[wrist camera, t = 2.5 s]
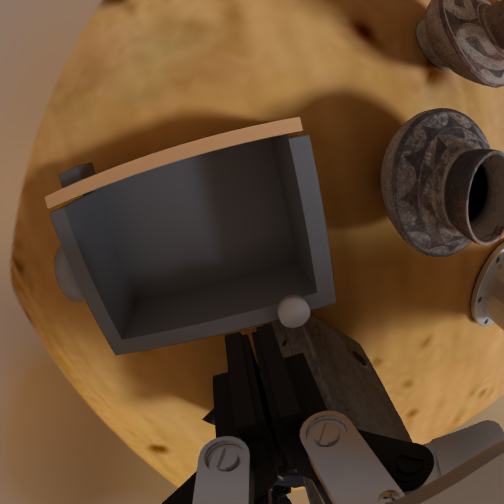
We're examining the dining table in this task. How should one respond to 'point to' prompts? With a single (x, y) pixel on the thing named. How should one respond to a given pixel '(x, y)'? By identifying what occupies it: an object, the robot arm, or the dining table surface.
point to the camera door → (162, 159)
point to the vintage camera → (333, 391)
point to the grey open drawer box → (200, 246)
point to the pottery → (450, 140)
